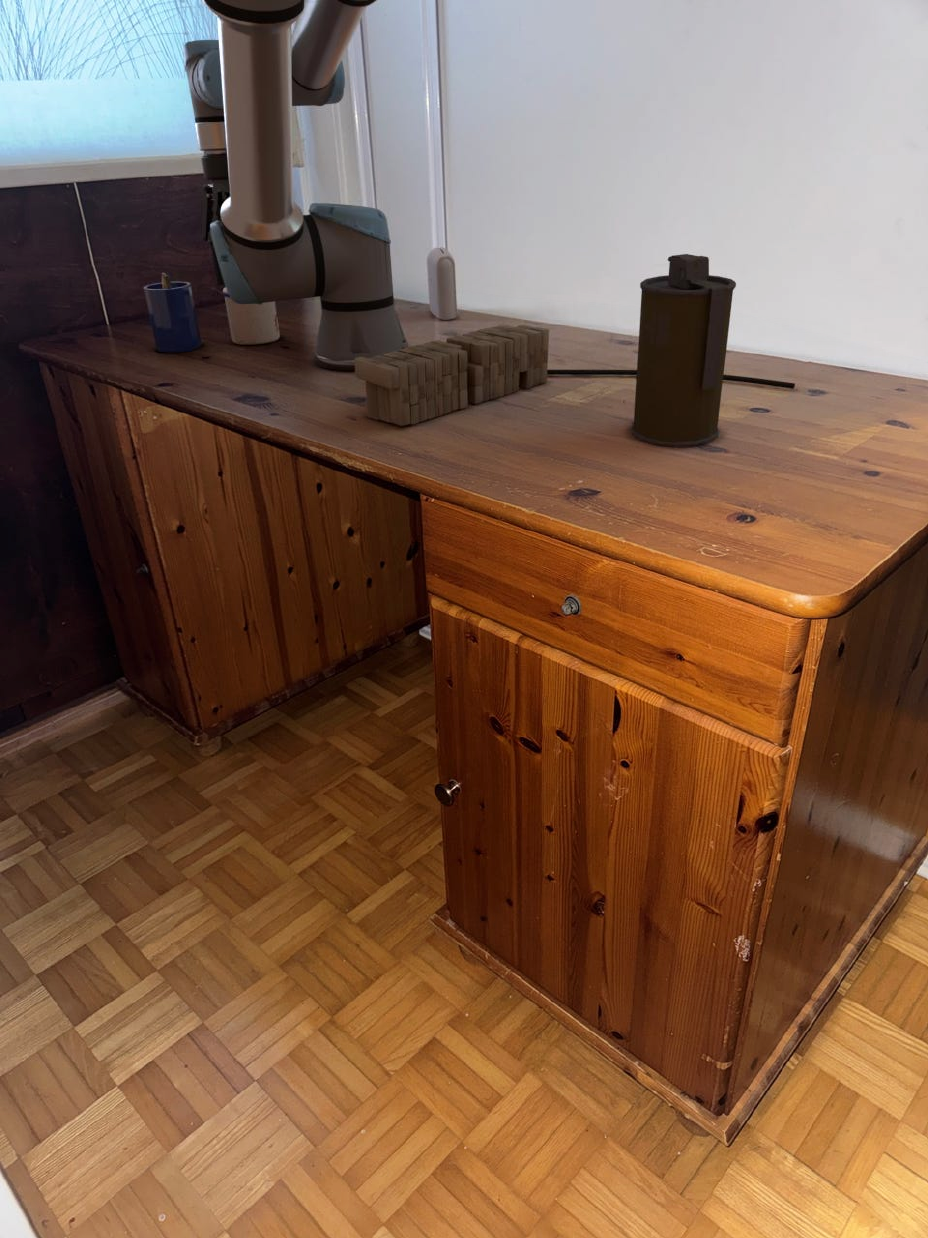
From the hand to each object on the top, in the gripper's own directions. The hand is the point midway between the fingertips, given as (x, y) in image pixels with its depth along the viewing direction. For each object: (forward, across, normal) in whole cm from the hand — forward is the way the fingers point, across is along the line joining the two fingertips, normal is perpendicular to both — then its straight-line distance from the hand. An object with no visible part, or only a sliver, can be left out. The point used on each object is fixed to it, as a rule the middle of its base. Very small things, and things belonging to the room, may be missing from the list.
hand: (244, 287), depth 155 cm
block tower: (+10, -57, +3) cm, 58 cm away
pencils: (+9, +6, +12) cm, 16 cm away
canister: (+10, -88, -4) cm, 89 cm away
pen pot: (+9, +6, +12) cm, 16 cm away
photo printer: (+9, -13, -35) cm, 39 cm away
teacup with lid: (+9, 0, 0) cm, 9 cm away
